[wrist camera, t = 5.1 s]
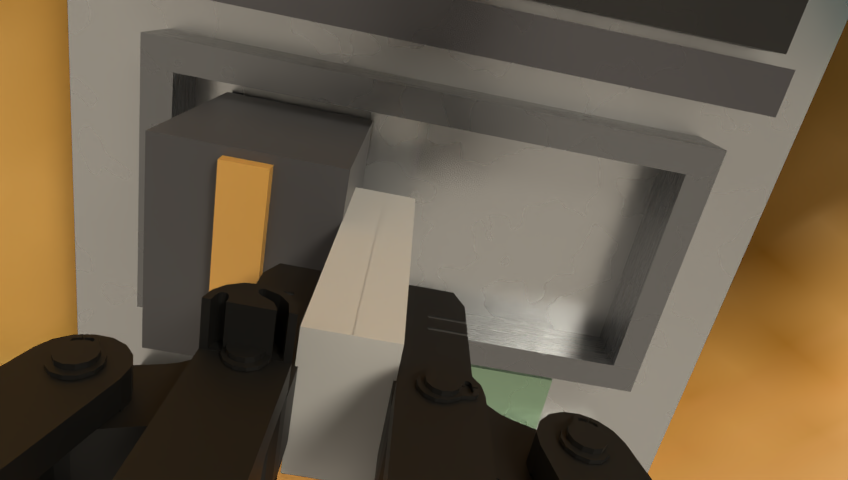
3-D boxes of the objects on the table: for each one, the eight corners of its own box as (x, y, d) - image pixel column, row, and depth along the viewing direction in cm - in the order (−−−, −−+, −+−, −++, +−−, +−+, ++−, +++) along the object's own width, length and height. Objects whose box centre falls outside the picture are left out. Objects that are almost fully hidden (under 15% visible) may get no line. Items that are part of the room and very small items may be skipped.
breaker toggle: (227, 91, 16) (138, 133, 11) (373, 120, 16) (348, 174, 11) (216, 257, 18) (136, 354, 13) (346, 280, 18) (315, 385, 13)
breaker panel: (104, -205, 15) (14, -260, 12) (827, -41, 17) (925, -50, 13) (109, 367, 22) (52, 433, 19) (622, 452, 23) (654, 528, 20)
